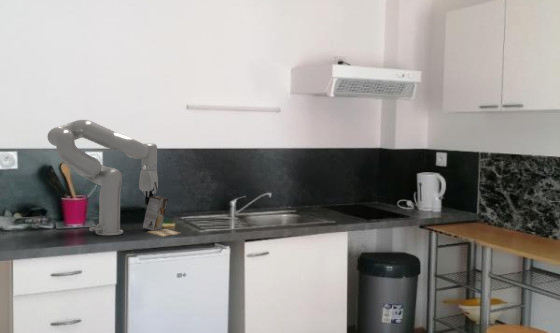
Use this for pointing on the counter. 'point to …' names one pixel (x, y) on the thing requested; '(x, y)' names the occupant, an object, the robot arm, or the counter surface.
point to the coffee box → (155, 212)
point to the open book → (163, 232)
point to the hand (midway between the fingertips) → (148, 204)
